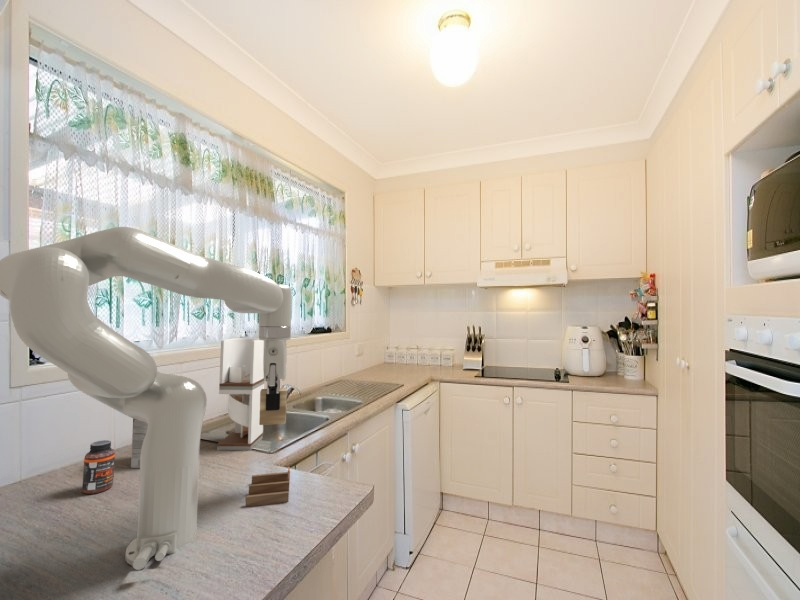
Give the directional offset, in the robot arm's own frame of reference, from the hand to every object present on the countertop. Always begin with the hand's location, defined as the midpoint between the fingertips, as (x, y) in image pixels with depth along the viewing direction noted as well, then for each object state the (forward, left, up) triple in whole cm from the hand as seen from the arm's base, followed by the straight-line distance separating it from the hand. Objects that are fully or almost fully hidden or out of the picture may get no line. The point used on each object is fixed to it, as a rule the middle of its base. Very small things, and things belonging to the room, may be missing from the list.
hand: (273, 407), depth 90 cm
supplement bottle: (+12, +41, -21) cm, 48 cm away
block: (0, 0, -4) cm, 4 cm away
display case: (+38, +12, -21) cm, 45 cm away
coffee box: (+28, +35, -21) cm, 50 cm away
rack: (-3, 0, -21) cm, 21 cm away
